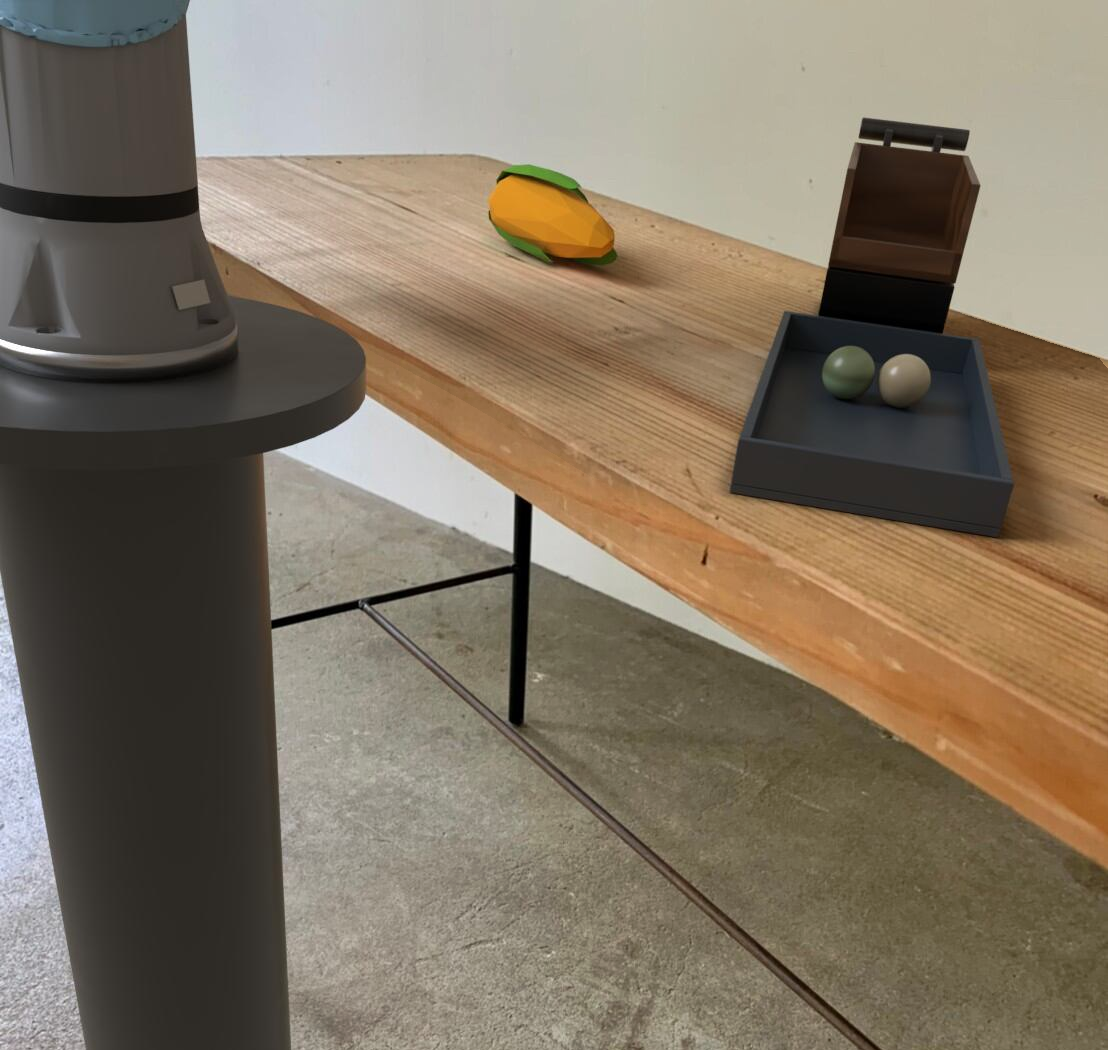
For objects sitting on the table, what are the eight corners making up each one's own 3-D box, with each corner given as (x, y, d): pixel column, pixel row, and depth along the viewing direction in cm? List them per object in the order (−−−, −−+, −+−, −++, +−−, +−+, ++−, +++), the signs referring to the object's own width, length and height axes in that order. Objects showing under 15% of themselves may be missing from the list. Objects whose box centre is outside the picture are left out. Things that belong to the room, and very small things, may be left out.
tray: (997, 537, 63) (1014, 483, 61) (729, 492, 65) (738, 438, 64) (968, 380, 89) (979, 338, 87) (776, 351, 91) (784, 310, 89)
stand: (933, 369, 90) (954, 286, 87) (810, 351, 92) (827, 269, 89) (928, 318, 105) (946, 245, 101) (822, 303, 106) (836, 231, 103)
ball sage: (816, 343, 78) (807, 390, 81) (851, 366, 76) (840, 414, 79) (856, 332, 80) (846, 379, 82) (891, 354, 78) (879, 401, 80)
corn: (538, 150, 116) (654, 188, 102) (537, 233, 121) (648, 281, 107) (469, 155, 113) (579, 195, 99) (470, 240, 118) (576, 290, 104)
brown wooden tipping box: (955, 283, 87) (987, 159, 83) (827, 266, 88) (852, 143, 84) (946, 234, 104) (971, 129, 100) (839, 220, 106) (860, 116, 101)
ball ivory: (868, 373, 78) (865, 377, 81) (897, 417, 78) (893, 420, 81) (914, 340, 77) (909, 346, 80) (944, 384, 77) (938, 388, 80)
